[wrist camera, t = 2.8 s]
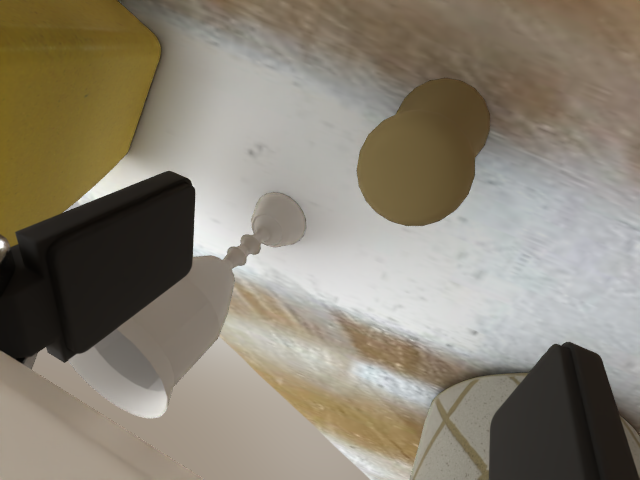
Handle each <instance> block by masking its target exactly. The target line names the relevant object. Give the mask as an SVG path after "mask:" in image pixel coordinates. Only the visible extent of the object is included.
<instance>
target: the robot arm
mask: <svg viewBox="0 0 640 480" xmlns="http://www.w3.org/2000/svg"><path fill="white" fill-rule="evenodd" d="M194 212H195V189H194V187H193V186H192V183H191V181H190V180H189V179H188V178H186V177H183V176H181V175H179V174H176V173H174V172H171V171H167V172H164V173H161V174H159V175H156V176H154V177H151V178H149V179H146V180H144V181H141V182H139V183H136V184H134V185H131V186H129V187H126V188H124V189H121V190H119V191H116V192H114V193H111V194H109V195H106V196H104V197H101V198H99V199H96V200H94V201H91V202H89V203H86V204H84V205H81V206H79V207H76V208H74V209H71V210H69V211H66V212H64V213H61V214H59V215H56V216H54V217H51V218H49V219H46V220H44V221H41V222H39V223H36V224H34V225H31V226H29V227H26V228H24V229H21V230H19V231H16V232H15V234H16V238H17V241H18V244H17V245H15V246H12V247H10V245H9V242H8V240H7V238H5V237H4V236H2V235H1V234H0V480H204V479H203V478H201V477H200V476H198V475H197V474H195V473H193V472H192V471H190V470H189V469H187V468H186V467H184V466H182V465H181V464H179V463H178V462H176V461H175V460H173V459H171V458H170V457H168V456H167V455H165V454H164V453H162V452H161V451H159V450H157V449H156V448H154V447H153V446H151V445H150V444H148V443H146V442H145V441H143V440H142V439H140V438H139V437H137V436H136V435H134V434H132V433H131V432H129V431H128V430H126V429H124V428H123V427H121V426H120V425H118V424H117V423H115V422H114V421H112V420H110V419H109V418H107V417H106V416H104V415H102V414H101V413H99V412H98V411H96V410H95V409H93V408H91V407H90V406H88V405H87V404H85V403H83V402H82V401H80V400H79V399H77V398H75V397H74V396H72V395H71V394H69V393H68V392H66V391H64V390H63V389H61V388H60V387H58V386H56V385H55V384H53V383H52V382H50V381H49V380H47V379H45V378H44V377H42V376H41V375H39V374H37V373H36V372H34V371H33V370H32V367H33V364H34V362H35V359H36V356H37V353H38V352H39V351H40V350H42V349H43V348H45V347H46V348H47V351H48V353H50V354H51V355H53V356H54V357H56V358H58V359H59V360H61V361H63V362H64V363H65V362H66V361H68V360H69V359H71V358H72V357H73V356H75V355H76V354H82V353H84V352H86V351H88V350H89V349H91V348H92V347H93V346H94V345H96V344H97V343H98V342H100V341H101V340H102V339H104V338H105V337H106V336H108V335H109V334H110V333H112V332H113V331H114V330H116V329H117V328H118V327H120V326H121V325H122V324H123V323H125V322H126V321H127V320H129V319H130V318H131V317H133V316H134V315H135V314H137V313H138V312H139V311H141V310H142V309H143V308H145V307H146V306H147V305H149V304H150V303H151V302H152V301H154V300H155V299H156V298H158V297H159V296H160V295H162V294H163V293H164V292H166V291H167V290H168V289H170V288H171V287H172V286H174V285H175V284H176V283H178V282H179V281H180V280H181V279H183V278H184V277H185V276H186V275H187V274H188V273H189V272H190V270H191V268H192V260H193V236H194ZM489 480H640V478H639V475H638V472H637V469H636V466H635V463H634V459H633V456H632V453H631V450H630V447H629V444H628V441H627V437H626V434H625V431H624V428H623V425H622V422H621V419H620V415H619V412H618V409H617V406H616V403H615V400H614V397H613V393H612V390H611V387H610V384H609V381H608V378H607V375H606V372H605V368H604V365H603V362H602V359H601V357H600V356H599V355H598V354H596V353H594V352H592V351H589V350H587V349H585V348H582V347H580V346H578V345H575V344H573V343H571V342H566V343H564V344H563V345H562V346H561V345H558V344H554V345H552V346H551V347H550V348H549V349H548V351H547V352H546V353H545V354H544V355H543V356H542V358H541V359H540V360H539V361H538V362H537V364H536V365H535V366H534V367H533V368H532V370H531V371H530V372H529V373H528V374H527V376H526V377H525V378H524V379H523V380H522V382H521V383H520V384H519V385H518V386H517V388H516V389H515V390H514V391H513V392H512V393H511V395H510V396H509V397H508V398H507V399H506V401H505V402H504V403H503V404H502V405H501V407H500V408H499V409H498V410H497V411H496V413H495V414H494V416H493V418H492V421H491V425H490V448H489Z"/></svg>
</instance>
